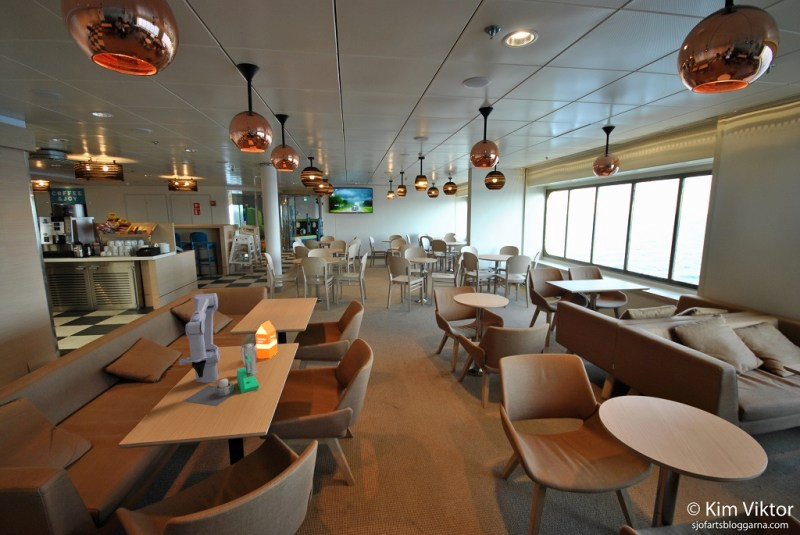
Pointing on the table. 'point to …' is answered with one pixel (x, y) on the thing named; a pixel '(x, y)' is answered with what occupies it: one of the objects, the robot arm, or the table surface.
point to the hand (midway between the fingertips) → (201, 376)
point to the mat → (208, 397)
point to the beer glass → (249, 358)
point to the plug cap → (223, 383)
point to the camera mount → (246, 381)
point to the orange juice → (266, 340)
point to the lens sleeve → (224, 390)
